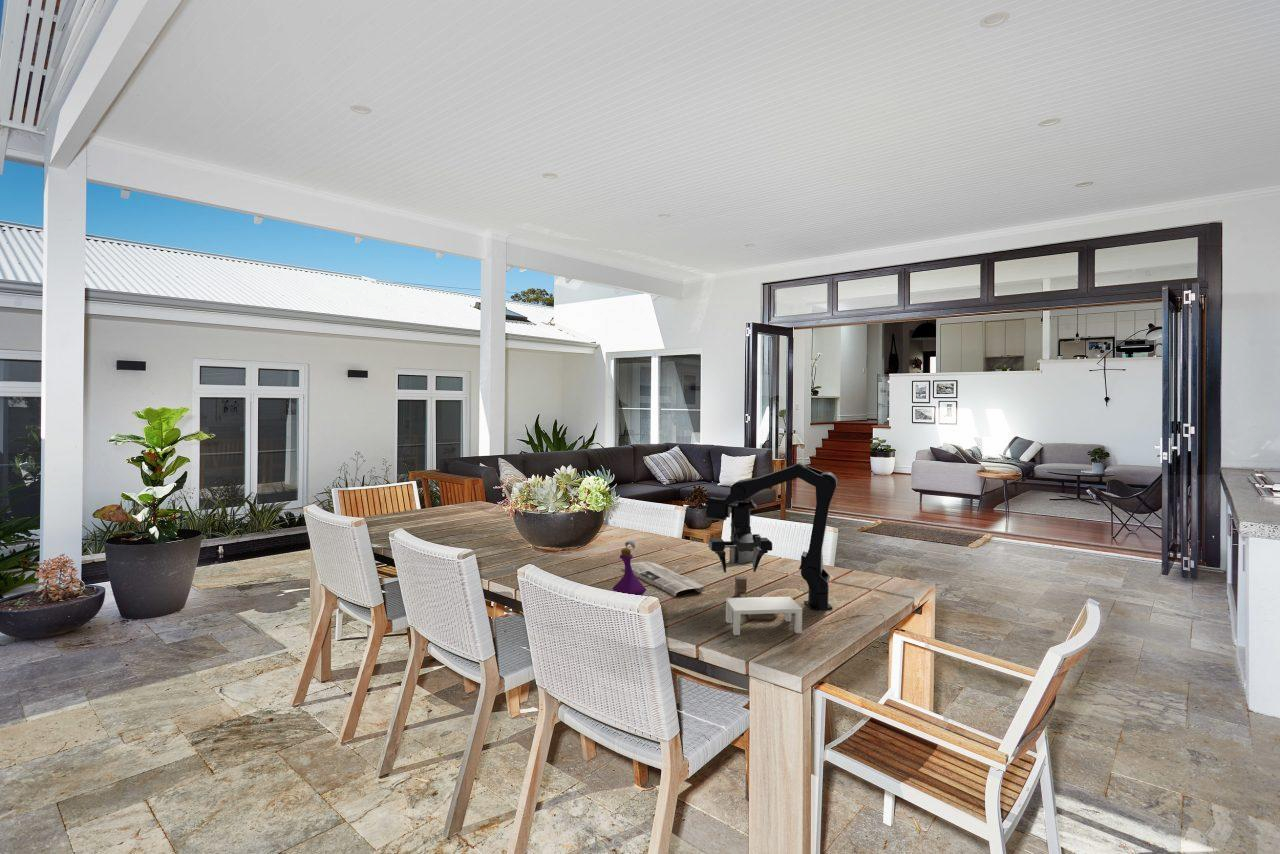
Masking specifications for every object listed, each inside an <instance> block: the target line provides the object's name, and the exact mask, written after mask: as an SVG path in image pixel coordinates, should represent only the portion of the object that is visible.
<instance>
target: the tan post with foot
mask: <svg viewBox="0 0 1280 854" xmlns="http://www.w3.org/2000/svg"><path fill="white" fill-rule="evenodd" d="M747 580H748V579H747V577H746V576H745V575H744V576H743V575H742V576H741V575H740V576H737V575H735V576H734V596H735V597H734V598H748V597H749V596H747V589H748V588H747V585H748V584H747ZM746 615H747V617H748V618H749V620H774V619H775V617H774V613H770V614H746Z"/></svg>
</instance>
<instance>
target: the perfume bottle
mask: <svg viewBox="0 0 1280 854" xmlns="http://www.w3.org/2000/svg"><path fill="white" fill-rule="evenodd" d="M624 545H625V548H623V549H621V551H620V552H621V554H620V555H619V559H621V560H622V561H623V565H625V570H624V574H623V576H622V577H621V578H620V580H619V581H618V582H617V583H616V584H615V585H614V586H613V587H612V588H611V589H612V591H613V592H614V591H617V592H622V593H628V594H635V595H642V596H643V595H644V593H646V591H647V588H646V587H645V586H644V584H643V583H642V582H641V581H640V580H639V578H638V577H636V576H635V575H634V573H633V571H632V568H631V560H632V559H633V558H634V556H633V554H631V552H632V550H631V549H630V548H628V546H629V545H630V547H632V549H633V550H635V548H636V541H635V540H629V541H626V542H625V543H624Z"/></svg>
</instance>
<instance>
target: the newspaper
mask: <svg viewBox="0 0 1280 854" xmlns="http://www.w3.org/2000/svg"><path fill="white" fill-rule="evenodd" d="M630 564H631V568H632V571H633V573H634V575H635V576H636V578H637V579H640V580H642V581H644V582H646V583H648V584H650V585H652V586H653V585H655V586H657V587H659V588H661V589H663V590H665V591H667V592H669V593H671V594H672V595H671V594H670V595H671V596H673V595H674V596H673V597H675V596H676V595H678V593H679V592H683V591H686V590H687V591H688V590H692V589H694V590H693V591H695V592H698V593H702V592H703V591H704V587H705V586H707V584H708V583H706V582H703V581H699V580H698V579H693V578H692V577H687V576H685V575H682V574H679V573H677V572H676V571H673V570H671V569H669V568H667V567H665V566H663V565H661V564H660V563H657V562H649V561H638V562H630ZM622 570H623V571H625V564H623V566H622ZM655 586H654V587H655ZM657 587H656V588H657ZM659 588H658V589H659ZM661 589H660V590H661ZM663 590H662V591H663ZM665 591H664V592H665ZM667 592H666V593H667ZM669 593H668V594H669ZM676 597H677V596H676Z"/></svg>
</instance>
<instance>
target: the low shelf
mask: <svg viewBox="0 0 1280 854" xmlns="http://www.w3.org/2000/svg"><path fill="white" fill-rule="evenodd" d="M747 597H748V598H736V597H726V598H725V623H726V622H727V623H726V624H732V634H733V635H734V636H741V615H747V614H770V613H778V614H784V615H783V619H784V621H785V622H786V623H787V622H792V614H794V625H793V626H794V627H793V630H794V631H793V632H795V634H803V608H802V607H801V605H799V603H797V602H796V601H795V600H794V599H793V598H792V597H791V596H757V597H756V596H755V597H749V596H747Z"/></svg>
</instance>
